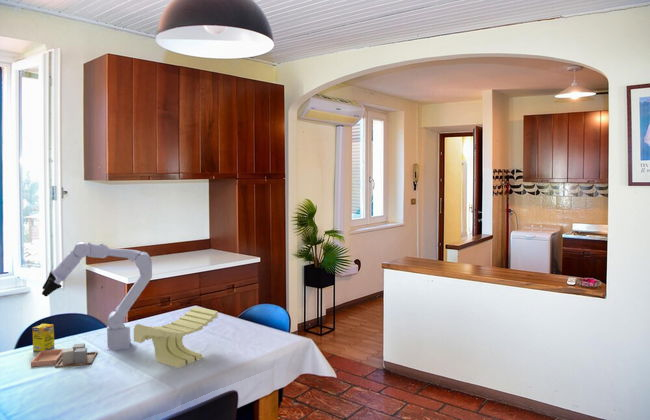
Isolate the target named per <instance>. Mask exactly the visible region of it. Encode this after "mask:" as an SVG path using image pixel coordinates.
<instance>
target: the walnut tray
mask: <svg viewBox="0 0 650 420" xmlns="http://www.w3.org/2000/svg"><path fill="white" fill-rule="evenodd" d="M97 355H98V351H87V361H86V363H76V364H74V363H71V364H65V365H63V364H62V357H61V359H60V360H59V361H58V363H57V364H56V365H54V369H55V368H56V369H57V368H66V367H77V366H78V367H79V366H90V365H93V362H94V360H95V358H96V357H97Z"/></svg>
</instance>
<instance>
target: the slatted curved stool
mask: <svg viewBox="0 0 650 420" xmlns="http://www.w3.org/2000/svg"><path fill="white" fill-rule="evenodd" d="M218 318H219V317H218V311H217V310H213V309H208V308H204V307H201V306H200V307H199V306H196V307H193V308H191V309H190V310H189V311H187V312H185V313H184V315H183V316H180V317H179V319H176V320H174V321H172V322H171V323H167V324H164V325H161V326H158V325H157V326H148V325H144V324H140V323H137V324H136V325H134V327H133V342H136V343H139V344H142V343H144V342H145V341H146V340H147V341H148V340H152V345H153V346H154V356H155V360H156V362H158V363H162V364H165V365H168V366H170V365H171V366H170V367H173V366H175V367H174V368H176V367H178V368H177V369H179V367H180V368H182V367H184V365H185V366H186V365H189V363H190V364H192V363H194V362H195V361H196V360H197V361H199V360H202V359H203V358H204V357H203V355H202V353H199V352H195V351H194V350H190V349H189V348H187V347H185V345H184V344H183V339H184V336H186V335H188V336H189V335H190V334H192V333H195V332H199V331H201V330H203V329H204V327H207V326H208V325H209V323H213V321H214V320H213V319H218ZM201 358H202V359H201ZM198 359H199V360H198ZM191 362H192V363H191ZM181 366H182V367H181Z"/></svg>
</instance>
